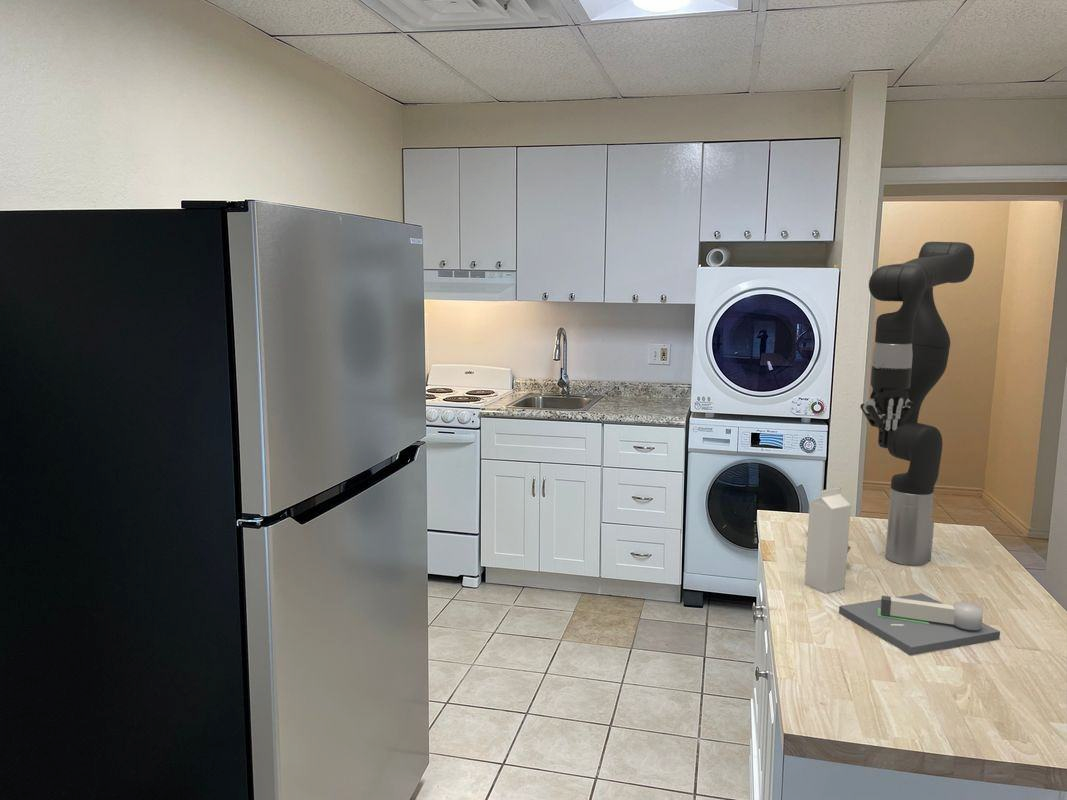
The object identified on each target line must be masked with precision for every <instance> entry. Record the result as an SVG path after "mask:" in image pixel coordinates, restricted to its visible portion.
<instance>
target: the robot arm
mask: <svg viewBox="0 0 1067 800" xmlns="http://www.w3.org/2000/svg"><path fill="white" fill-rule="evenodd" d="M974 264H975V251H974V249H973V247H972V246H971V245H970V244H968V243H966V242H961V241H960V242H959V241H927V242H924V244H922V246H921V248H920V250H919V253H918V257H917V258H914V259H911V260H908V261H906V262H903V263H896V264H895V263H894V264H887V265H882V266H880V267H877V268H876V269H875V270H874V271H873V273H872V274H871V276H870V278H869V280H868V290H869V292H870V294H871V296H872V297H873V298H874V299H876V300H878V301H880V302H899V303H901V302H902V303H901V306H900V307H899V309H898V310H896V311H894V312H887V313H882V314H879V316H877V318H876V322H875V323H876V324H875V335H874V336H875V337H874V346H873V348H872V349H873V351H872V358H871V372H870V386H871V388H872V392H871V394H870V396H869V400H868V401H867V402H865V403H861V404H860V409H861V411H862V413H863V415H864V416H865V417H866V420H867V422H868V423H869V424H870V426H871V427H875V428H877V429H878V438H877V442H878V445H879V447H880V448H883V449H887V451H888V453H889V454H890V455H891V456H892V457H894V458H896V459H900V460H904V461H906V462H909V466H908V469H907V472H905V473H904V472H903V473H898V474H897V473H896V474H895V475H893V476H892V477H891V480H890V481H891V482H890V493H889V504H888V505H889V507H888V519H887V527H886V528H887V530H886V544H885V553H884V555H885V558H886V559H887V560H889V561H891V562H894V563H896V564H899V565H907V566H922V565H926V564H927V563H928V562H931V560H932V550H933V539H934V530H935V529H934V528H935V524H934V522H933V521H932V515H933V514H932V513H933V502H934V491H935V485H936V484H937V481H938V477H939V474H940V465H941V459H942V454H943V444H944V443H943V437H942V436H943V435H942V433H941V431H940V429H938V428H937V426H933V425H929V424H925V423H920V422H918V421H919V415H920V410H921V406H922V404H923V402H924V400H925V398H926V396H927V395H928V394H929V393H930V392H931V390H932V389H933V388H934V387H935V385H936V384H937V383H938V382H939V381H940V379H941V378H942V376H943V375H944V374H945V371H946V369H947V366H948V362H949V361H948V360H949V355H950V354H949V353H950V348H951V337H950V334H949V331H948V329H947V327H946V325H945V322H944V321H943V320H942V317H941V316H940V313H939V311H938V309H937V306H936V303H935V299H934V288H935V287H936V286H940V285H944V284H948V283H949V284H957V283H962V282H964V281H967V279H969V277H970V276H971V274H972V272H973V269H974Z"/></svg>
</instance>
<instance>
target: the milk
mask: <svg viewBox="0 0 1067 800" xmlns="http://www.w3.org/2000/svg"><path fill="white" fill-rule="evenodd" d="M851 508H852V507H851V504H850V503H849V502H848V501H847V499H846V498H845V497H843V495H842V494H841V487H834V488H829V489H823V490H821V492H820V497H818V498H816V499H814V500H811V501H809V508H808V521H807V522H808V527H807V538H806V539H807V540H806V541H807V542H806V556H805V569H804V570H805V574H804V585H805V586H808V587H810V588H811V589H814V590H817V591H819V592H821V593H823V594H829V593H833V592H837V591H841V590H844V589H845V588H846V577H847V575H846V574H847V561H848V553H847V550H848V546H849V545H848V544H849V535H850V533H849V532H850V523H851V522H850V521H851V520H850V518H851Z"/></svg>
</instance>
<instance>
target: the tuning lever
mask: <svg viewBox="0 0 1067 800" xmlns="http://www.w3.org/2000/svg"><path fill="white" fill-rule="evenodd" d="M880 600H881V615H888V616H890V615H891V616H898V617H905V618H912V619H918V620H925V621H932V622H939V623H946V624H953V625H955V626H957V627H959V628H963V629H967V630H979V629H981V628H982V623H983V617H984V608H983V607H982V606H981V605H979V604H976V603H973V602H968V601H956V602H953V605H951V604H946V603H945V604H944V603H943V604H939V603H931V602H924V601H917V600H909V599H902V598H895V597H892V596H891V595H889V596H888V595H881V599H880Z"/></svg>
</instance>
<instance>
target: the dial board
mask: <svg viewBox="0 0 1067 800" xmlns="http://www.w3.org/2000/svg"><path fill="white" fill-rule="evenodd" d="M895 598H902V599H909V600H917V601H924V602H931V603H939V604H944V603H942V602H940V601H938V600H937V599H934V598H932V597H930V596H928V595H926V594H924V593H921V592H920V593H916V594H909V595H902V596H896V597H895ZM838 614H839V615H841V616H843V617H845V619H849V620H850V621H852V622H853V623H855V624H856V625H859V626H861V627H862V628H864V629H865V630H867V631H869V632H870V633H872V634H874V635H875V636H877V637H879V638H881V639H882V640H885V642H887V643H889V644H891V645H893V646H894V647H896V648H898V649H899V650H901V651H903V652H904V653H906V654H908V655H910V656H914V655H919V654H926V653H930V652H935V651H941V650H948V649H952V648H958V647H962V646H967V645H968V646H969V645H973V644H980V643H984V642H985V643H986V642H989V641H990V642H991V641H996V640H1000V638H1001V630H998V629H996V628H994V627H992V626H990V625H988V624H986V623H984V622H982V628H981V629H979V630H967V629H963V628H959V627H957V626H955V625H953V624H946V623H939V622H932V621H925V620H918V619H912V618H905V617H898V616H891V615H890V616H888V615H881V599H877V600H876V599H875V600H871V601H870V600H869V601H864V602H863V601H862V602H856V603H851V604H844V605H839V607H838Z"/></svg>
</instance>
